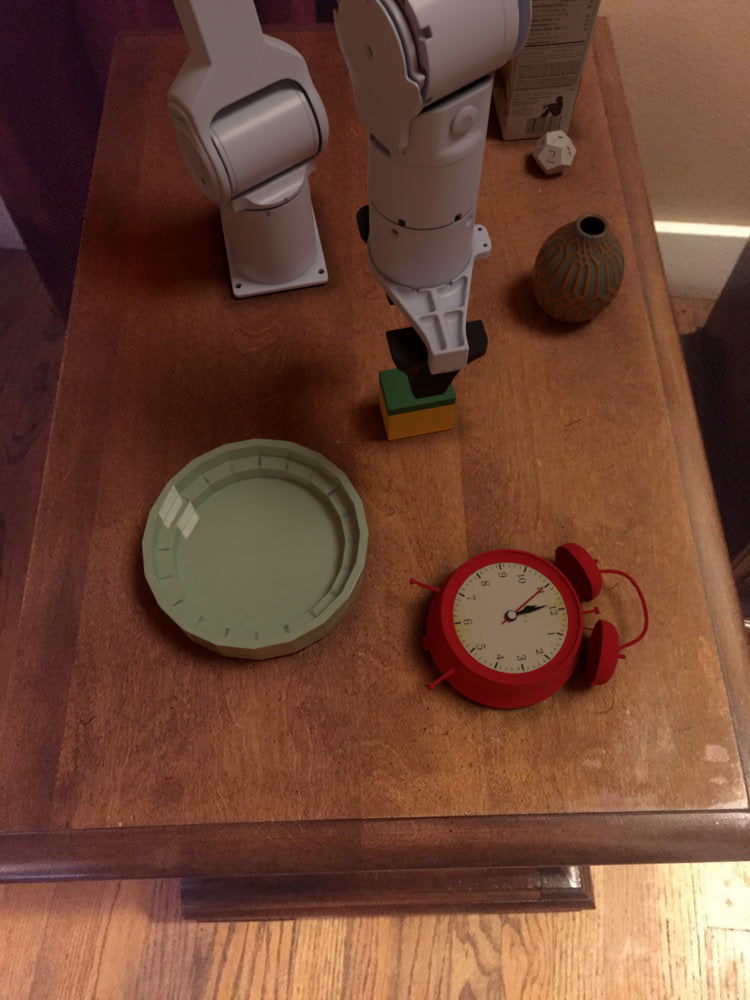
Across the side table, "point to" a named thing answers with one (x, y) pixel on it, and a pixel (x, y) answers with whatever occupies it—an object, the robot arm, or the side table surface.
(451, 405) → the sponge
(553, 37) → the coffee box
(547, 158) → the game die
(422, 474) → the side table surface
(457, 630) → the alarm clock
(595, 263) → the vase
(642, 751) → the side table surface
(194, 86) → the robot arm
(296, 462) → the bowl
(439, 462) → the side table surface
